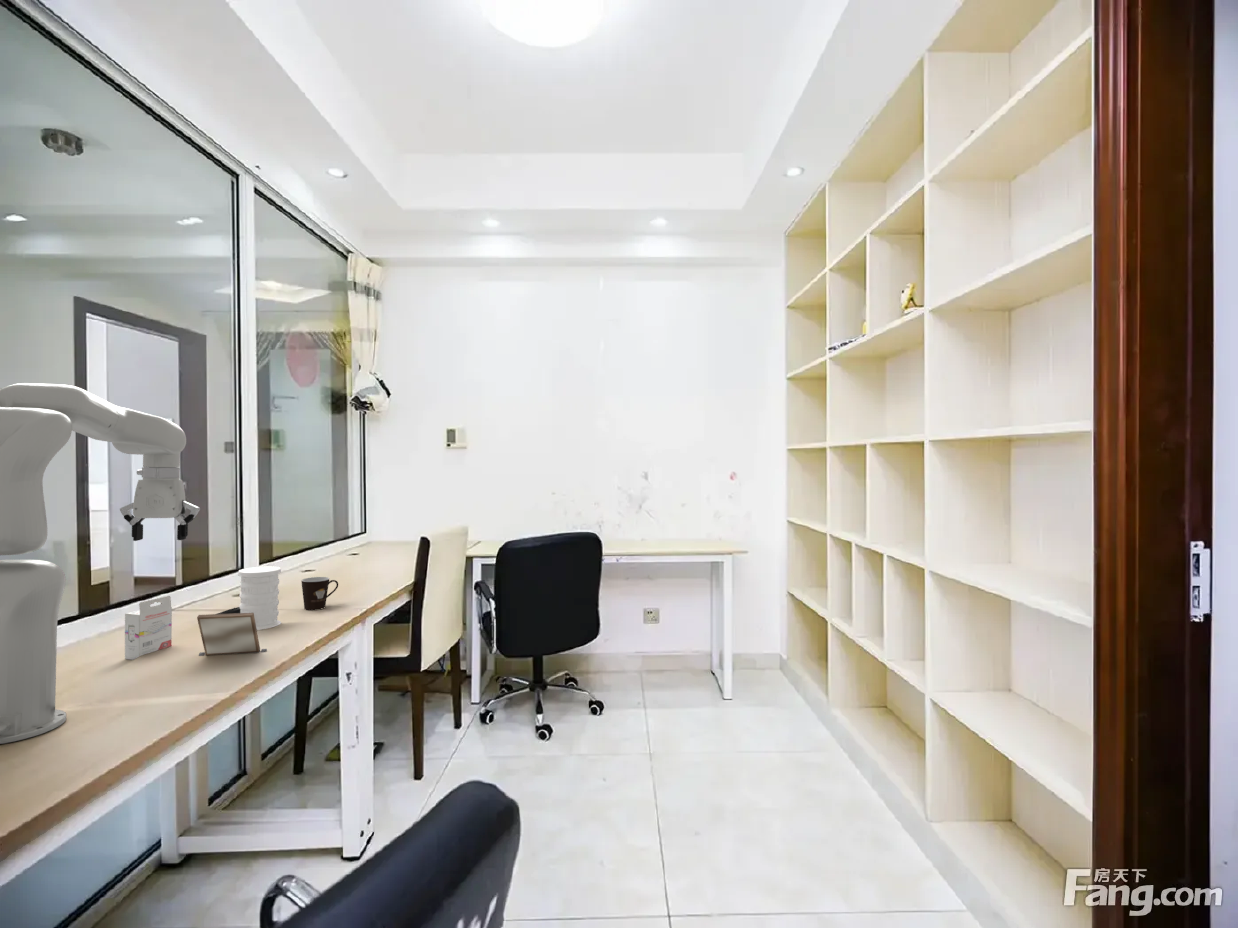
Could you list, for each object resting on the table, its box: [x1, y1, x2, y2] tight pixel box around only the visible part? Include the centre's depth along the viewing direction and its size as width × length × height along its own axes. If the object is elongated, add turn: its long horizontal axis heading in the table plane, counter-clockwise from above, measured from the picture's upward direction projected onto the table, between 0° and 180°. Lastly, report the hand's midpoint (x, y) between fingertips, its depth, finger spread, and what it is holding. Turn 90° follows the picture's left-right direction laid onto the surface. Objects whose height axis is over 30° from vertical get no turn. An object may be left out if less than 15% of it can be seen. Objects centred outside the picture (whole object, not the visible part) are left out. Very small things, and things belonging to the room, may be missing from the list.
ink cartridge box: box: [124, 595, 173, 661], centre depth 147 cm, size 9×5×15 cm, turn 168°
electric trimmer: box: [216, 606, 241, 614], centre depth 184 cm, size 4×16×3 cm, turn 174°
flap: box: [196, 613, 261, 656], centre depth 143 cm, size 13×12×1 cm
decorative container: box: [238, 565, 282, 631], centre depth 171 cm, size 12×12×18 cm
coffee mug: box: [300, 576, 339, 611], centre depth 197 cm, size 12×9×10 cm
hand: (160, 539), depth 147 cm, fingers open, 9 cm apart
